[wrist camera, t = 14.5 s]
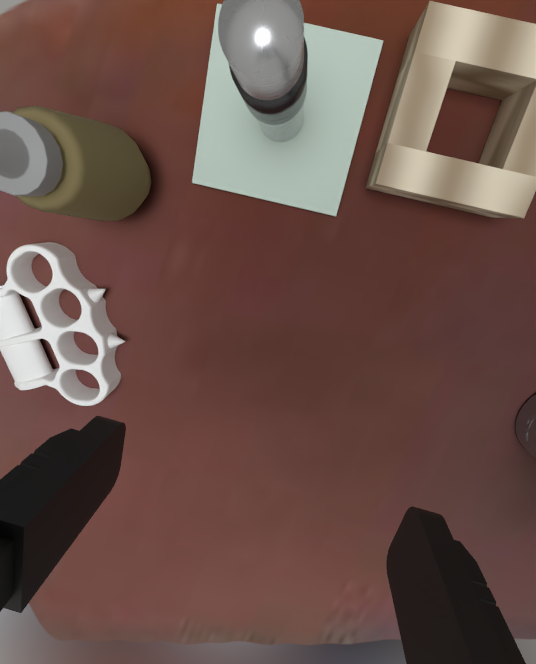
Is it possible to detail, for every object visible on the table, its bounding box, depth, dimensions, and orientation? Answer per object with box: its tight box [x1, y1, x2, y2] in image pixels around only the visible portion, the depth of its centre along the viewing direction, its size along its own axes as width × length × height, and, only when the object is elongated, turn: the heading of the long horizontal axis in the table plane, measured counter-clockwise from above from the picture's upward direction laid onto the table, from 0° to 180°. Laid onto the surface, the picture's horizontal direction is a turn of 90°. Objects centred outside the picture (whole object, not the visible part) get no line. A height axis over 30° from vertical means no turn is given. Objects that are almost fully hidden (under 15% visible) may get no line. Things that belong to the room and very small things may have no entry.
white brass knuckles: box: [0, 242, 126, 406], centre depth 40 cm, size 3×18×15 cm
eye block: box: [366, 1, 536, 218], centre depth 29 cm, size 12×12×5 cm
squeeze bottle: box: [0, 106, 151, 221], centre depth 27 cm, size 8×8×18 cm
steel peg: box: [218, 0, 308, 142], centre depth 24 cm, size 4×4×16 cm
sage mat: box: [192, 3, 383, 216], centre depth 32 cm, size 14×14×1 cm
